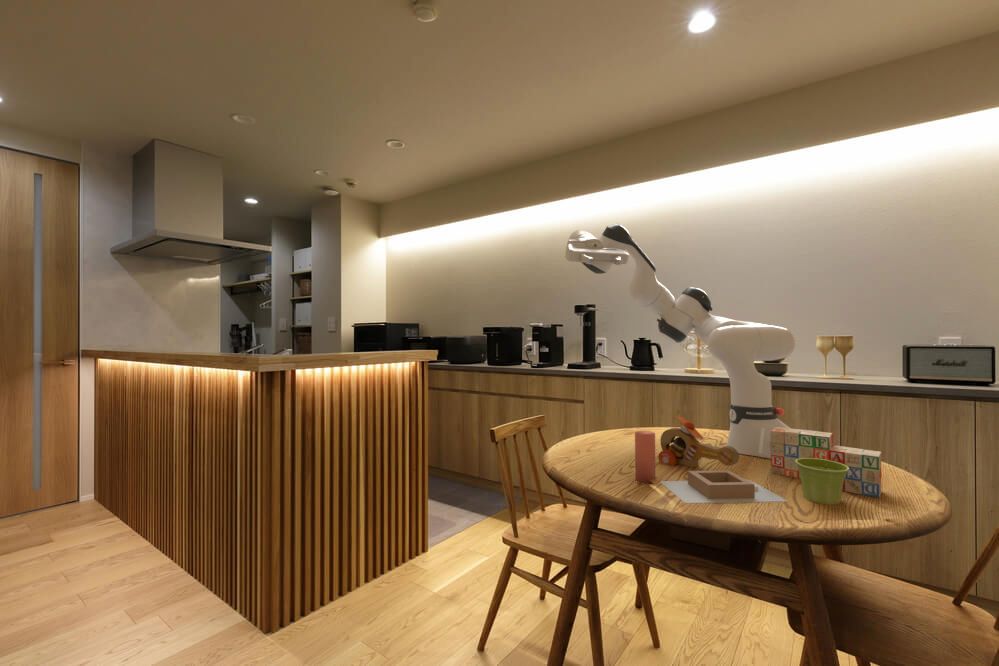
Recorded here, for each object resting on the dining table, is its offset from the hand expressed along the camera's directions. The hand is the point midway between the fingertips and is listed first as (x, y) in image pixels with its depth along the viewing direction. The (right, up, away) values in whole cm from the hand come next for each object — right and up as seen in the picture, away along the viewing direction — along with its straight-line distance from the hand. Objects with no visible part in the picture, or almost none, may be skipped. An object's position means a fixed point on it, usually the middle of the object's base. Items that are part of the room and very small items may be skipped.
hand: (604, 261), depth 141 cm
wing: (+24, -58, -36) cm, 72 cm away
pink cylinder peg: (+3, -59, -29) cm, 66 cm away
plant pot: (+36, -59, -45) cm, 82 cm away
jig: (+17, -59, -39) cm, 73 cm away
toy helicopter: (+19, -59, -20) cm, 65 cm away
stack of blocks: (+46, -59, -32) cm, 81 cm away
